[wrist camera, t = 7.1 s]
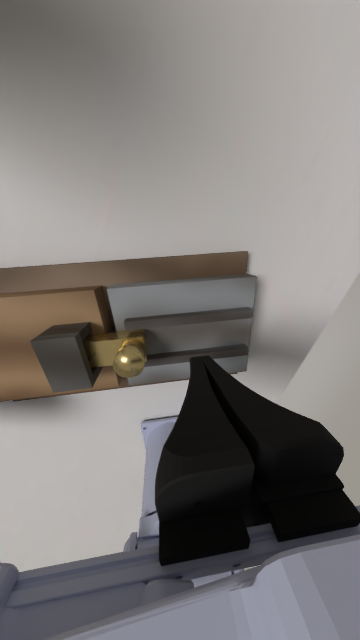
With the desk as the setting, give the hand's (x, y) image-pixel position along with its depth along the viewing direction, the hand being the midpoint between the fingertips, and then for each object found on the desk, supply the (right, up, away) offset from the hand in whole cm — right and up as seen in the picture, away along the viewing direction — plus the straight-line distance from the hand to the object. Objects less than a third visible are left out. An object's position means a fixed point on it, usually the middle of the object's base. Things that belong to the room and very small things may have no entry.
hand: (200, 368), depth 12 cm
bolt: (-8, +1, +4) cm, 9 cm away
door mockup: (-8, +2, +7) cm, 10 cm away
